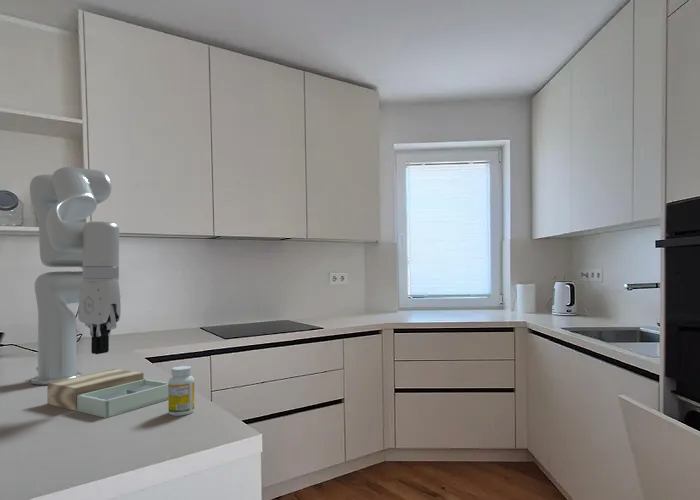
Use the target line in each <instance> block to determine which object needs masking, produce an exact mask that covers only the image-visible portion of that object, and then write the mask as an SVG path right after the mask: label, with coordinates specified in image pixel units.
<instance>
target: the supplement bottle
mask: <svg viewBox="0 0 700 500" xmlns="http://www.w3.org/2000/svg"><path fill="white" fill-rule="evenodd" d="M191 373H192V367H191V366H190V365H180V366H173V367H172V368H171V376H172V377H170V379H169V380H168V382H167V383H168V400H167V401H168V408H167V409H168V415H170V416H172V417H173V416H175V417H178V416H180V417H181V416H187V415H190V414H191V413H193V412H194V411H195V378H194V376H192V375H191Z"/></svg>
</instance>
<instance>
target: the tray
mask: <svg viewBox="0 0 700 500" xmlns="http://www.w3.org/2000/svg"><path fill="white" fill-rule="evenodd" d="M145 385H147V386H153V387H154V388H151V389H147V390H143V391H139V392H135V393H131V394H128V395H124V396H120V397H116V398H112V399H108V400H105V399H100V398H97V397H100V396H104V395H108V394H113V393H117V392H121V393H126V394H127V390H128V389H132V388H136V387H141V386H145ZM164 400H165V401H168V382H166V381H158V380H155V379H154V380H153V379H146V378H144V379H143V380H139V381H135V382H131V383H126V384H122V385H118V386H114V387H110V388H105V389H101V390H97V391H93V392H89V393H84V394H80V395H77V412H79V413H84V414H89V415H92V416H95V417H100V418H104V419H106V418H110V417H114V416H118V415H121V414H124V413H127V412H131V411H134V410H138V409H141V408H144V407H148V406H150V405H154V404H157V403H160V402H164Z"/></svg>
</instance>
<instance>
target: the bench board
mask: <svg viewBox="0 0 700 500" xmlns="http://www.w3.org/2000/svg"><path fill="white" fill-rule="evenodd" d="M143 379H145V378H144V372H140V371H133V370H132V371H131V370H127V369H121V368H120V369H118V368H113V369H108V370H104V371H98V372H93V373H88V374H84V375H83V374H82V376H78V377H73V378H68V379H63V380H58V381H54V382H49V383H48V384H47V390H46V391H47V393H46V394H47V395H46V396H47V401H46V402H47V403H46V404H47V405H49V406H54V407H58V408H62V409H67V410H71V411H75V412H76V411H77V395H80V394H84V393H89V392H93V391H97V390H101V389H105V388H110V387H114V386H118V385H122V384H126V383H131V382H135V381H139V380H143ZM77 412H78V411H77Z"/></svg>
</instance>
